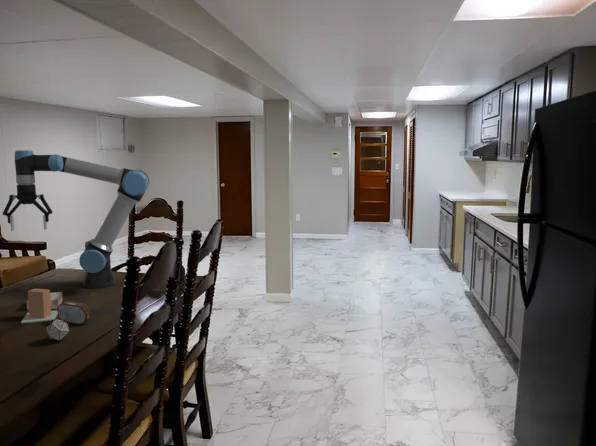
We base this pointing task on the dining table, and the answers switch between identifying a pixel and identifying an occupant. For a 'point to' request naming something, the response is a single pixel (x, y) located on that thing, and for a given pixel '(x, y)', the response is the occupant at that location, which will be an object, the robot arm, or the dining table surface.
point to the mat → (32, 319)
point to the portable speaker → (74, 312)
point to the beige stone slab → (52, 300)
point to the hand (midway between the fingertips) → (29, 229)
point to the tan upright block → (39, 303)
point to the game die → (57, 329)
